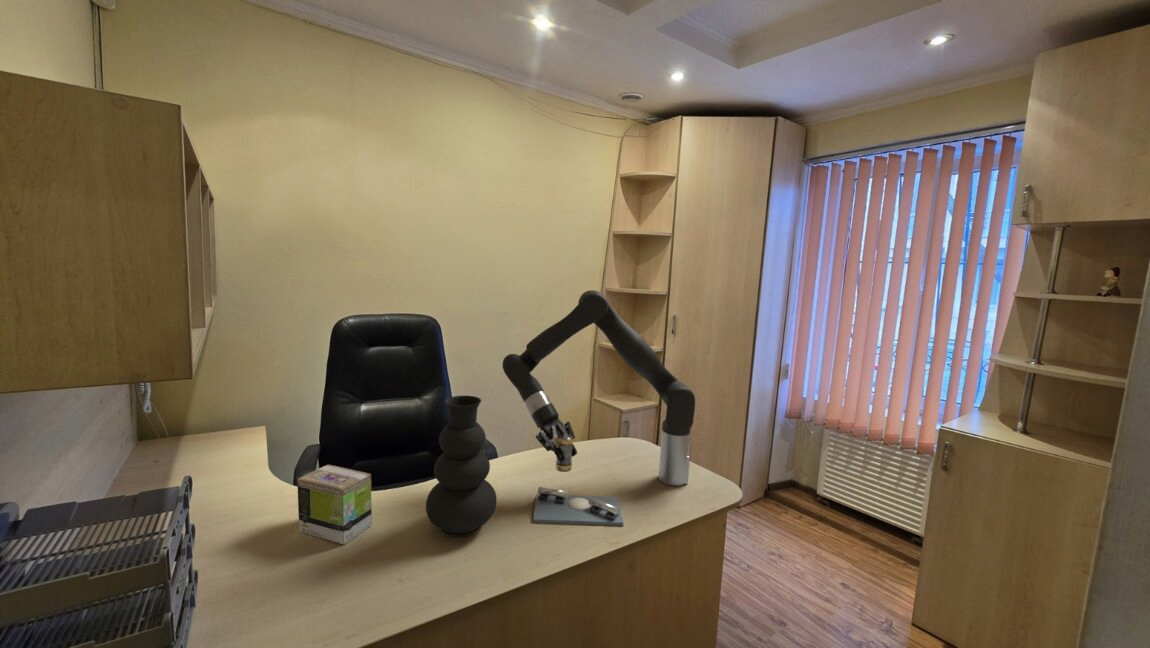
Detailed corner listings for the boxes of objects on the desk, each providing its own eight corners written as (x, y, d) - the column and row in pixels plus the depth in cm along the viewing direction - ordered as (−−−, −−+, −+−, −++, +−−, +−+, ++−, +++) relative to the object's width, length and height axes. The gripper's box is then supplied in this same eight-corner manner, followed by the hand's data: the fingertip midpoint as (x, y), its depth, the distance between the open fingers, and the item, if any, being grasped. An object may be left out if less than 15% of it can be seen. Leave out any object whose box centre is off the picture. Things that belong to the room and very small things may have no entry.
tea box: (373, 525, 125) (372, 472, 123) (343, 546, 115) (342, 490, 113) (329, 513, 129) (328, 462, 127) (297, 532, 120) (295, 478, 118)
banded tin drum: (569, 464, 144) (570, 433, 143) (573, 471, 140) (574, 439, 138) (554, 465, 143) (555, 434, 142) (557, 472, 138) (559, 440, 137)
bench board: (618, 500, 143) (618, 496, 143) (623, 525, 130) (623, 521, 129) (536, 497, 143) (536, 493, 143) (533, 522, 129) (533, 518, 129)
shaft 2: (586, 514, 135) (587, 500, 134) (593, 508, 138) (593, 495, 137) (613, 525, 130) (614, 510, 129) (619, 519, 133) (620, 505, 132)
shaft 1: (568, 502, 141) (569, 489, 140) (565, 508, 137) (566, 494, 137) (540, 497, 143) (540, 484, 142) (536, 503, 140) (537, 489, 139)
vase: (423, 514, 131) (423, 392, 126) (489, 504, 138) (491, 388, 133) (428, 553, 114) (428, 414, 109) (502, 540, 121) (506, 409, 116)
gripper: (531, 408, 138) (560, 459, 132) (563, 398, 149) (591, 445, 143) (518, 420, 142) (546, 471, 136) (550, 410, 153) (577, 456, 147)
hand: (569, 457), depth 140 cm, fingers closed on banded tin drum, 4 cm apart
